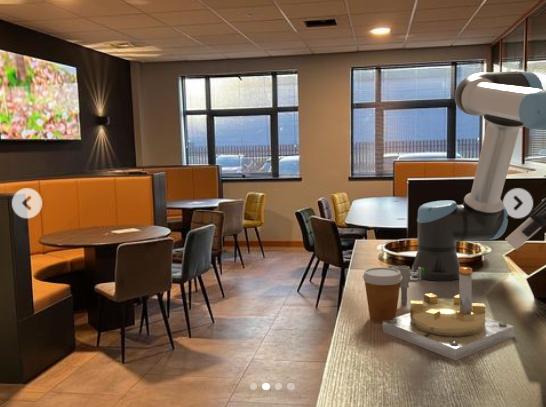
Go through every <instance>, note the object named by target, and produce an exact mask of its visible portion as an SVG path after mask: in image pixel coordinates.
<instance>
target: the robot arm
mask: <svg viewBox="0 0 546 407" xmlns="http://www.w3.org/2000/svg"><path fill="white" fill-rule="evenodd" d="M454 103H455V105H456V106H457V108H458V109H459V110H460V111H461V112H462V113H464V114H467V115H470V116H474V117H475V116H476V117H479V116H481V117H483V119H484V120H485V122H486V123H487V124H486V129H485V132H484V136H483V141H482V145H481V150H480V152H479V153H480V154H479V157H478V162H477V165H476V170H475V174H474V179H473V183H472V187H471V189H470V190H471V191H470V192H469V193H467V194H466V195H465V196H464V198H463V203H462V204H457V202H456V201H455V200H447V199H445V200H436V201H434V200H433V201H430V202H426V203H423V204H422V205H419V207H418V209H417V218H416V222H417V251H416V255H415V258H414V260H413V261H414V262H413V264H412V265H411V266H412V267H411V272H416V270H418V267H421V268H424V274H421V280H424V281H425V280H426V281H433V282H434V281H435V282H439V281H440V282H446V281H447V282H448V281H455V280H458V279H459V268H460V267H461V264H460V261H459V260H460V259H459V257H458V255H457V242H475V241H484V242H487V241H490V240H496V239H499V238H501V236H503V235H504V233H505V232H506V229H507V227H508V223H509V219H508V216H509V215H508V210H507V208H506V207H505V204H504V202H503V200H502V199H501V197H502V194H503V189H504V186H505V183H506V178H507V176H508V172H509V169H510V166H511V162H512V161H511V160H512V157H513V154H514V150H515V148H516V144H517V139H518V135H519V132H520V129H521V128H523V127H524V128H526V129H528V130H541V131H543V130H544V131H545V130H546V89H544V87H543V83H542V81H541V80H540V78H539V76H537V75H536V74H535V73H533V72H531V71H520V70H516V71H515V70H514V71H496V72H493V71H491V72H487V71H486V72H484V71H483V72H478V73H473V74H471V75H468V76H466V77H464V78H463V79H462V80H461V81H460V82H459V84H458V85H457V86H456V89H455V92H454ZM545 227H546V197H544V198H543V200H541V202H540V203H538V205H536V207H535V208H533V209H532V210H531V212H530V215H529V217H528V218H526V219H525V221H523V222H522V223H521V224H520V225H519V226H517V228H515V230H513V231H512V232H511V233H510V234H509V235H507V237H505V239H504V240H505V241H506V242H507V243H508V244H509V245H510V246H511V247H512V248H513V249H514V250H516V251H517V250H518V249H520V248H521V246H523V245H524V244H525V243H527V241H528V240H530V239H531V238H532V237H533V236H534V235H536V234H537V233H538V232H539V231H540V230H541V229H543V228H545ZM414 277H415V278H418V277H419V276H414Z"/></svg>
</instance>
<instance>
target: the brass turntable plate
mask: <svg viewBox="0 0 546 407" xmlns="http://www.w3.org/2000/svg"><path fill="white" fill-rule="evenodd" d="M472 274H473V268H472V267H470V266H460V268H459V282H458V283H459V288H458V290H459V291H458V292H459V293H458V294H457V295H456V294H455V295H454V296H453V298H442V297H441V298H438V295H436V294H435V293H432V292H431V293H424V294H423V299H422V300H412V299H411V300H410V308H409V309H410V312H409V313H410V322H411V323H412V325H413V326H415V327H416V328H418V329H420V330H423V331H426V332H429V333H434V334H439V335H449V336H463V335H471V334H476V333H479V332H481V331H482V330H484V328H485V317H486V304H485V303H480V302H477V303H476V302H472V281H473V280H472Z"/></svg>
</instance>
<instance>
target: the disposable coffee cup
mask: <svg viewBox="0 0 546 407" xmlns="http://www.w3.org/2000/svg"><path fill="white" fill-rule="evenodd" d="M362 279H363V281H364V287H365V294H366V300H367V302H366V303H367V307H368V314H369V320H370V321H372V322H374V323H378V324H383V321H385V320H389V319H392V318H395V317H397V312H398V304H399V297H400V296H399V295H400V290H401V288H400V282H401V280H402V276H401V273H400V271H399V270H397V269H393V268H387V267H385V268H384V267H381V266H379V267H370V268H368V269H365V270H364V273H363V275H362Z"/></svg>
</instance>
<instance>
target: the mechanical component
mask: <svg viewBox="0 0 546 407" xmlns="http://www.w3.org/2000/svg"><path fill="white" fill-rule="evenodd" d="M384 268H393V269H397V270H399V271H400V273H401V276H402V280H401V282H400V292H401V294H400V302H401V305H407V304H408V289H409V288H410V285H409V284H410V283H419V282H421V280H422V279H421V274H424V268H421V267H418V270H416V272H412V269H411V270H410V266H407V265H387V266H386V267H384ZM415 276H419V277H418V278H417V277H415ZM412 277H415V278H412Z"/></svg>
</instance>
